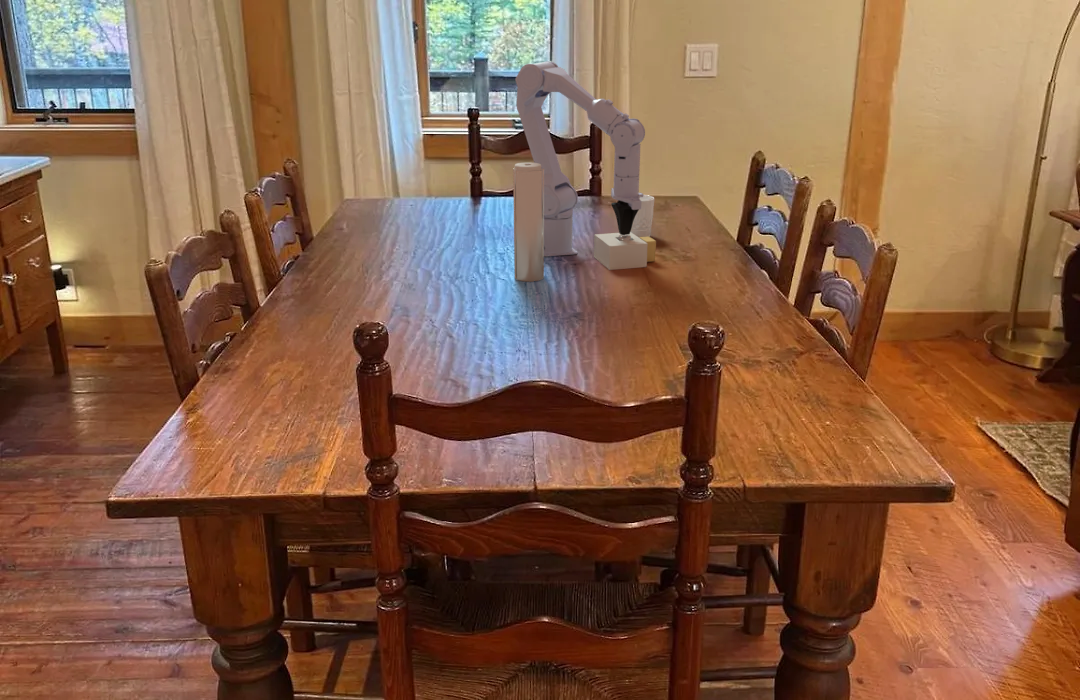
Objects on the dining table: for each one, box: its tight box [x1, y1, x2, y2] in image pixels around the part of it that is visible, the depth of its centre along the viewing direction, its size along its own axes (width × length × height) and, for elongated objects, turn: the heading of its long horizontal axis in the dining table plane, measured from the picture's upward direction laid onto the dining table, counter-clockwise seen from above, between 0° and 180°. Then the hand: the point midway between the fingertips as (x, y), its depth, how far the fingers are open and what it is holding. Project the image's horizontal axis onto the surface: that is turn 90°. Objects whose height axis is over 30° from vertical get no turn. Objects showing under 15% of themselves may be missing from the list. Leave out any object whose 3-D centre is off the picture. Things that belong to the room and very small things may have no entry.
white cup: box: [630, 194, 655, 237], centre depth 239 cm, size 8×8×10 cm
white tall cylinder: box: [512, 161, 545, 283], centre depth 202 cm, size 6×6×25 cm
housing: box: [593, 232, 648, 271], centre depth 217 cm, size 9×11×6 cm
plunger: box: [619, 235, 631, 241], centre depth 217 cm, size 3×3×2 cm
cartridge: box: [639, 236, 657, 263], centre depth 218 cm, size 10×4×5 cm, turn 105°
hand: (624, 233), depth 216 cm, fingers closed
